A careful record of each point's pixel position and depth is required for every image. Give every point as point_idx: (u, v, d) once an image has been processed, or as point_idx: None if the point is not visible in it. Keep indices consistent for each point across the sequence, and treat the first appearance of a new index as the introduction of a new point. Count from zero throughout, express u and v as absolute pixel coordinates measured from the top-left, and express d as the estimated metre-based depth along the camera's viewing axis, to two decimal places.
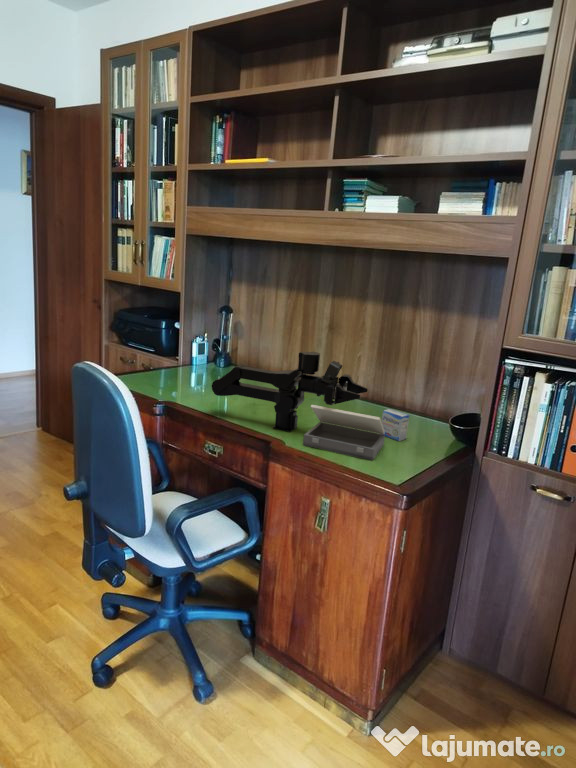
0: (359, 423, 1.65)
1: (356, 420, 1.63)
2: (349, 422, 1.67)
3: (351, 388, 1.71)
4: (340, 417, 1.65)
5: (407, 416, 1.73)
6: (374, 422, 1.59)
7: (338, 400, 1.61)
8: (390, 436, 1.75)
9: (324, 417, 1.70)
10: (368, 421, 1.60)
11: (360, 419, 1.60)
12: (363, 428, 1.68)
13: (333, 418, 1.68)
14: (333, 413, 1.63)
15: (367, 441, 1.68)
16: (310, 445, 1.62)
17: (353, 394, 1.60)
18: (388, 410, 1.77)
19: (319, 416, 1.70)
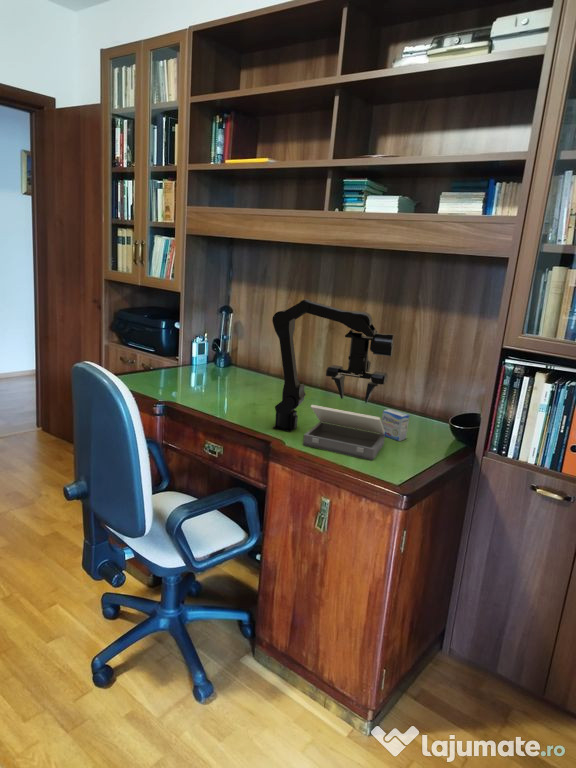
0: (359, 423, 1.65)
1: (356, 420, 1.63)
2: (349, 422, 1.67)
3: (342, 382, 1.68)
4: (340, 417, 1.65)
5: (407, 416, 1.73)
6: (374, 422, 1.59)
7: None
8: (390, 436, 1.75)
9: (324, 417, 1.70)
10: (368, 421, 1.60)
11: (360, 419, 1.60)
12: (363, 428, 1.68)
13: (333, 418, 1.68)
14: (333, 413, 1.63)
15: (367, 441, 1.68)
16: (310, 445, 1.62)
17: (369, 396, 1.67)
18: (388, 410, 1.77)
19: (319, 416, 1.70)
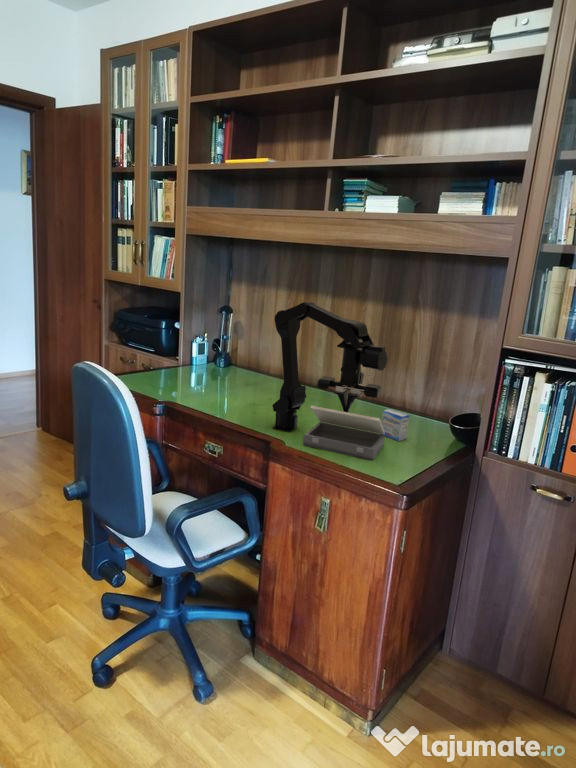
0: (359, 423, 1.65)
1: (356, 421, 1.63)
2: (349, 422, 1.67)
3: (345, 397, 1.60)
4: (340, 418, 1.64)
5: (407, 416, 1.73)
6: (374, 423, 1.59)
7: (353, 397, 1.58)
8: (390, 436, 1.75)
9: (324, 417, 1.69)
10: (368, 421, 1.59)
11: (360, 419, 1.60)
12: (363, 428, 1.68)
13: (333, 418, 1.68)
14: (333, 414, 1.63)
15: (367, 441, 1.68)
16: (310, 445, 1.62)
17: (350, 407, 1.61)
18: (388, 410, 1.77)
19: (319, 416, 1.70)
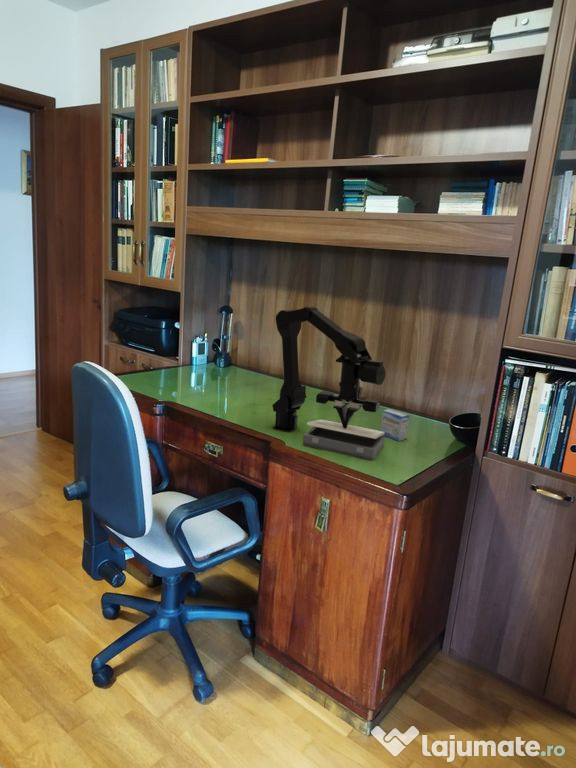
0: None
1: None
2: None
3: (344, 411, 1.61)
4: None
5: (407, 416, 1.73)
6: None
7: None
8: (390, 436, 1.75)
9: None
10: None
11: None
12: None
13: None
14: None
15: (367, 441, 1.68)
16: (310, 445, 1.62)
17: None
18: (388, 410, 1.77)
19: None
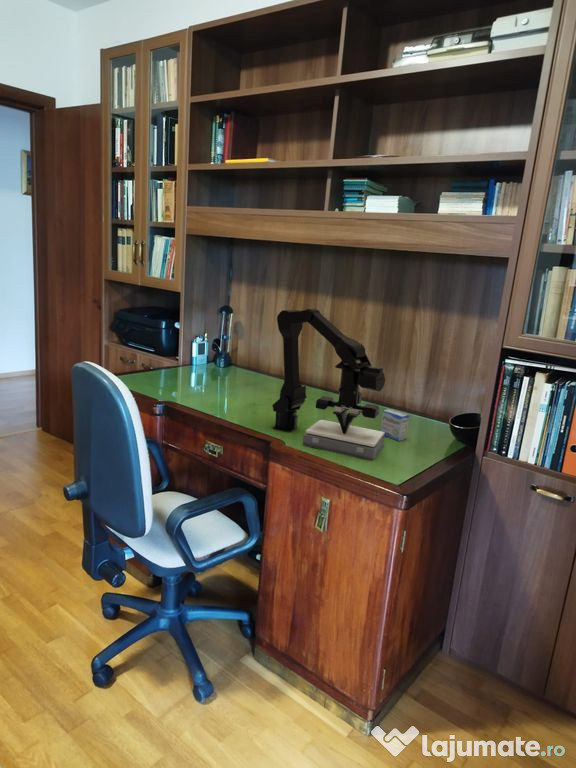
0: None
1: None
2: None
3: (344, 417, 1.62)
4: None
5: (407, 416, 1.73)
6: None
7: None
8: (390, 436, 1.75)
9: None
10: None
11: None
12: None
13: None
14: None
15: None
16: (310, 445, 1.62)
17: (348, 427, 1.63)
18: (388, 410, 1.77)
19: None
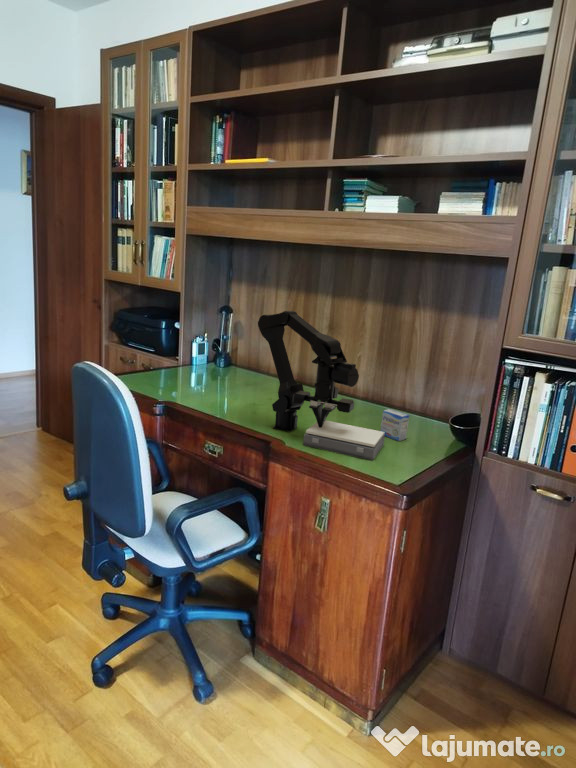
0: None
1: None
2: None
3: (320, 411, 1.66)
4: None
5: (407, 416, 1.73)
6: None
7: None
8: (390, 436, 1.75)
9: None
10: None
11: None
12: None
13: None
14: None
15: None
16: (310, 445, 1.62)
17: (324, 421, 1.67)
18: (388, 410, 1.77)
19: None
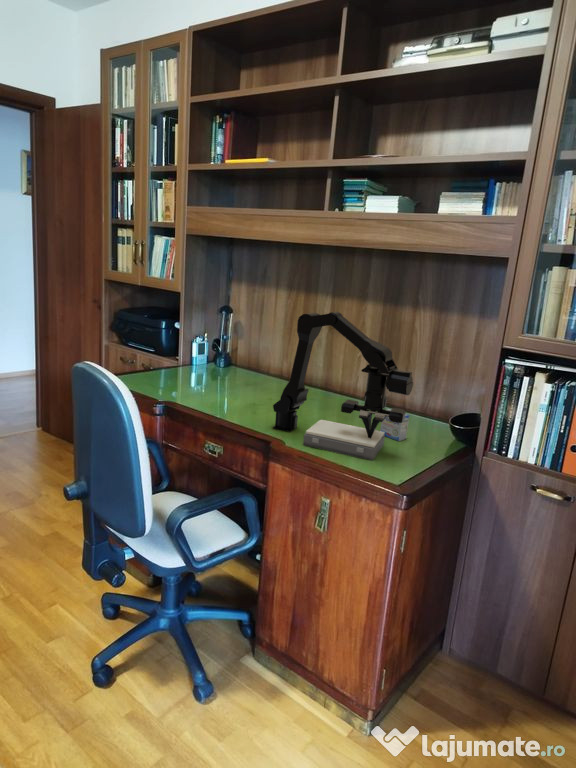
0: None
1: None
2: None
3: (369, 421, 1.60)
4: None
5: (407, 416, 1.73)
6: None
7: None
8: (390, 436, 1.75)
9: None
10: None
11: None
12: None
13: None
14: None
15: None
16: (310, 445, 1.62)
17: None
18: None
19: None
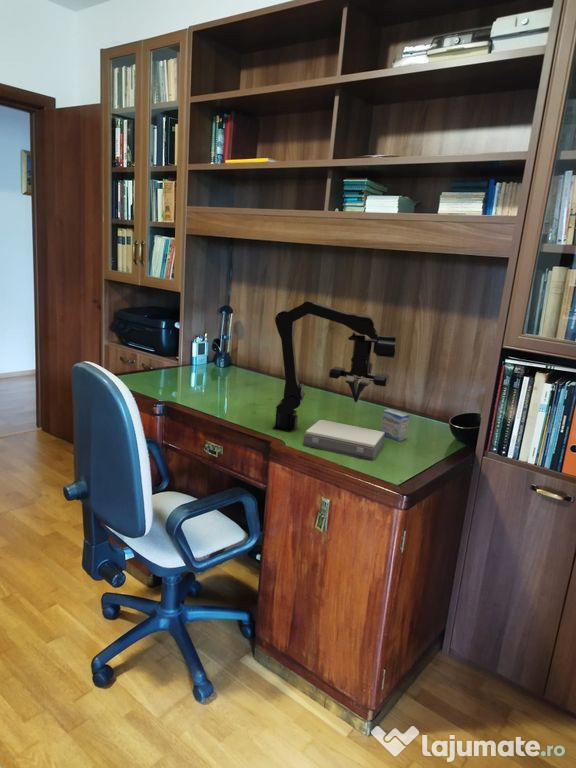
0: None
1: None
2: None
3: (356, 385, 1.70)
4: None
5: (407, 416, 1.73)
6: None
7: None
8: (390, 436, 1.75)
9: None
10: None
11: None
12: None
13: None
14: None
15: None
16: (310, 445, 1.62)
17: None
18: (388, 410, 1.77)
19: None
